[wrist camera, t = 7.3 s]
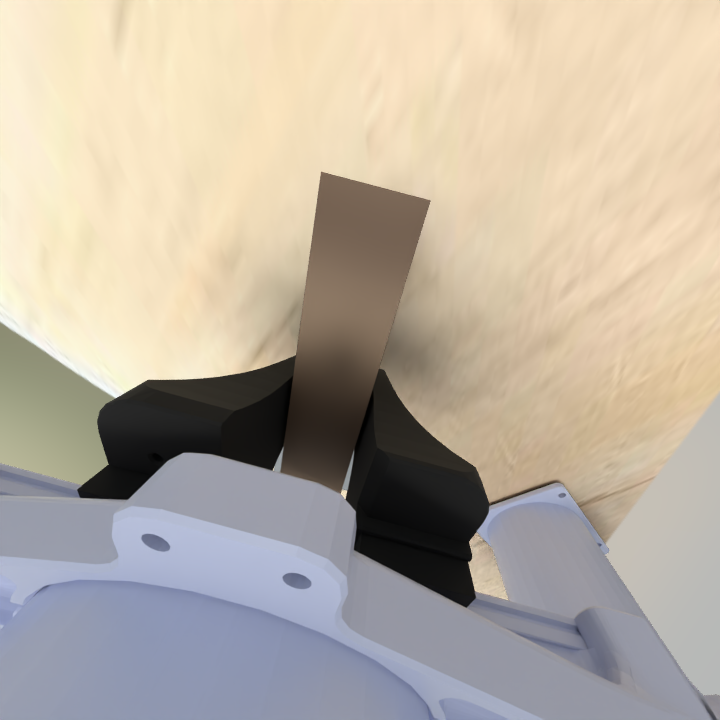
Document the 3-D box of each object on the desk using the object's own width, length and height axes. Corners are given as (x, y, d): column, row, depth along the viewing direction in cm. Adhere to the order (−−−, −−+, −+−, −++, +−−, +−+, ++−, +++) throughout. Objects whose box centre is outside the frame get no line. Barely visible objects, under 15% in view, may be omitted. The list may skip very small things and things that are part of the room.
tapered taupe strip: (344, 454, 17) (322, 554, 11) (309, 445, 17) (270, 540, 11) (411, 221, 11) (430, 200, 5) (356, 207, 11) (321, 172, 5)
